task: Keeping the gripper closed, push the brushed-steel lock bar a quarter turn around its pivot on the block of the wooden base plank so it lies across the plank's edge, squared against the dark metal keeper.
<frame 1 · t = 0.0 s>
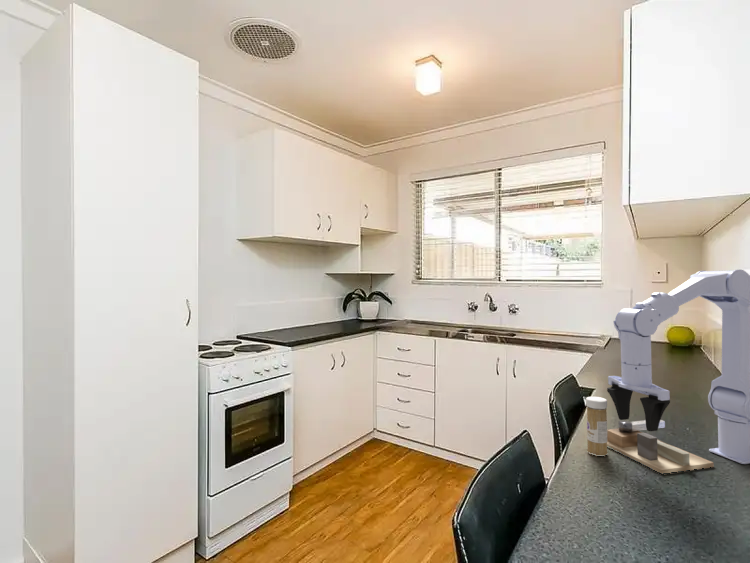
hand: (637, 424, 94), 10 cm above the countertop, tool pointing down, fingers open, 7 cm apart
sprinkles bottle: (597, 454, 103), on the countertop
lock bar: (641, 424, 108), point 5 cm above the countertop, hinge at 90.0°
wooden base plank: (652, 454, 102), on the countertop
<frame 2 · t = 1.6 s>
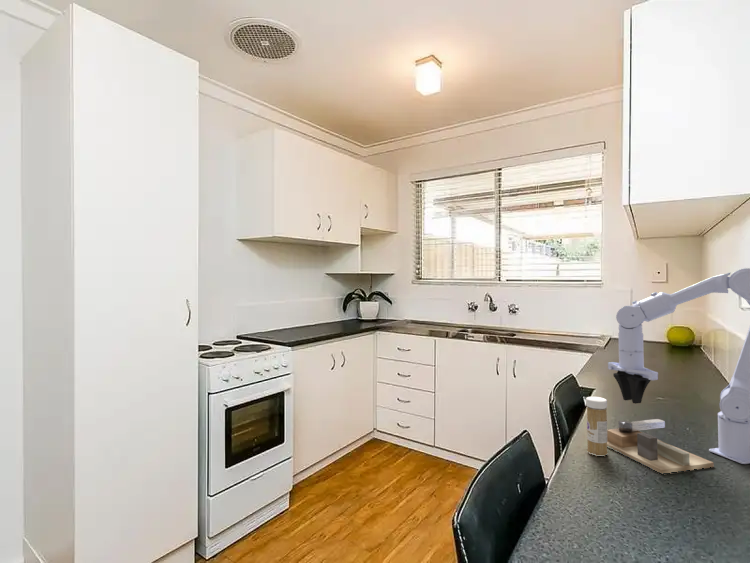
hand: (632, 401, 114), 9 cm above the countertop, tool pointing down, fingers closed
nothing on the countertop moved.
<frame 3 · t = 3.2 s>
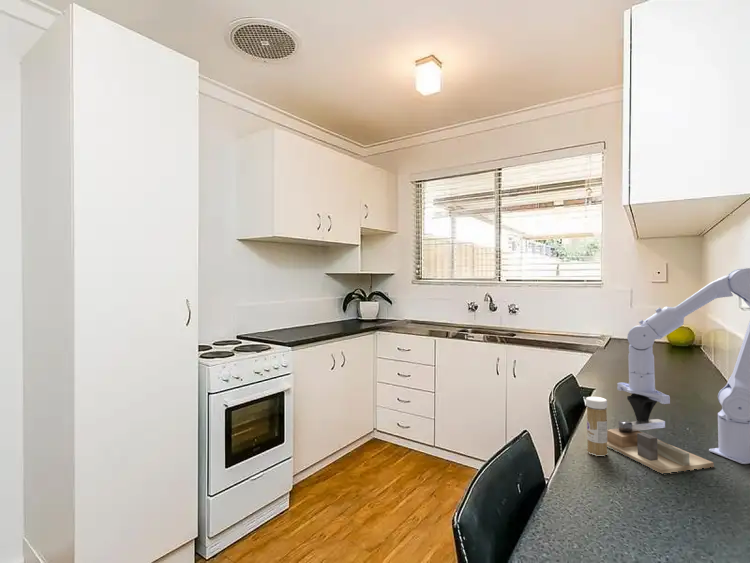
hand: (642, 424, 111), 4 cm above the countertop, tool pointing down, fingers closed
lock bar: (641, 424, 108), point 5 cm above the countertop, hinge at 89.9°, touching gripper
everything else where it was.
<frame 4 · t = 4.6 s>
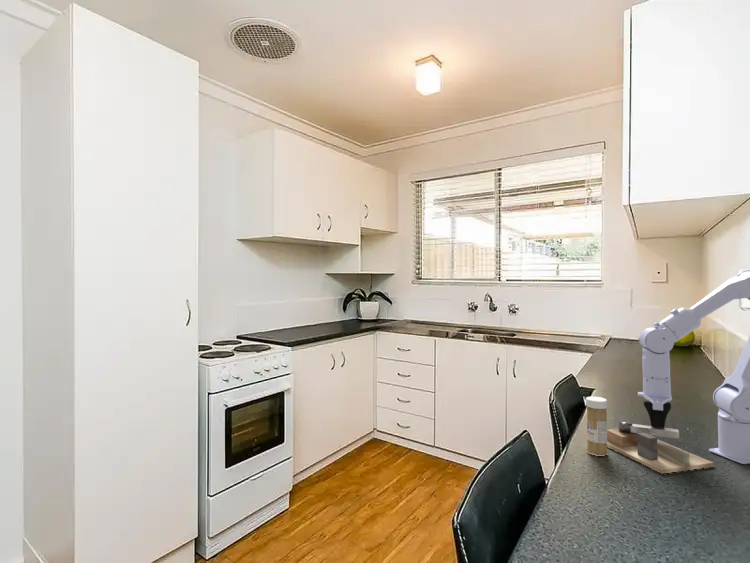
hand: (657, 431, 105), 4 cm above the countertop, tool pointing down, fingers closed, pressing on lock bar
lock bar: (647, 429, 105), point 5 cm above the countertop, hinge at 47.5°, touching gripper
everything else where it was.
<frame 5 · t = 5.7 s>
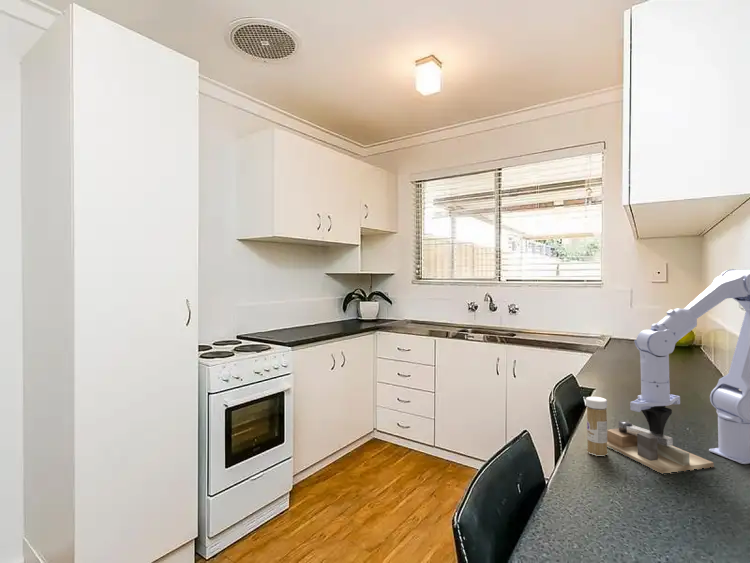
hand: (656, 437, 101), 4 cm above the countertop, tool pointing down, fingers closed, pressing on lock bar
lock bar: (643, 432, 103), point 5 cm above the countertop, hinge at 9.3°, touching gripper
everything else where it was.
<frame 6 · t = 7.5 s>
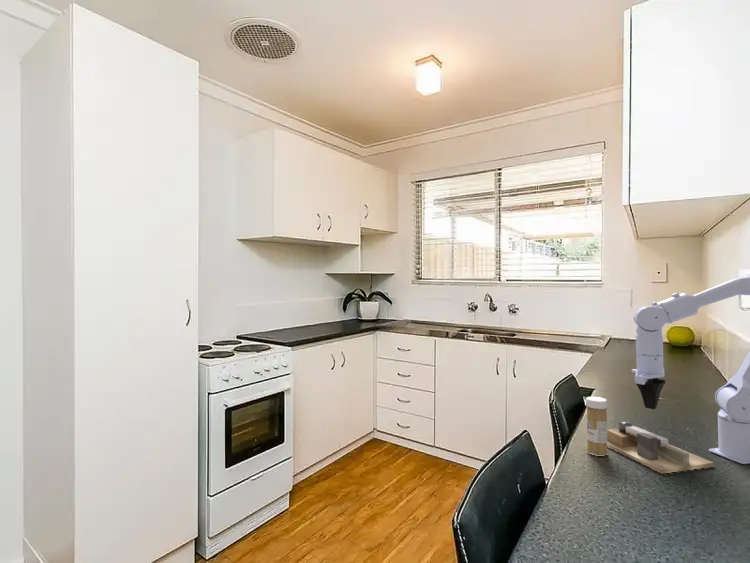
hand: (650, 408, 107), 9 cm above the countertop, tool pointing down, fingers closed
lock bar: (641, 432, 103), point 5 cm above the countertop, hinge at 1.0°
everything else where it was.
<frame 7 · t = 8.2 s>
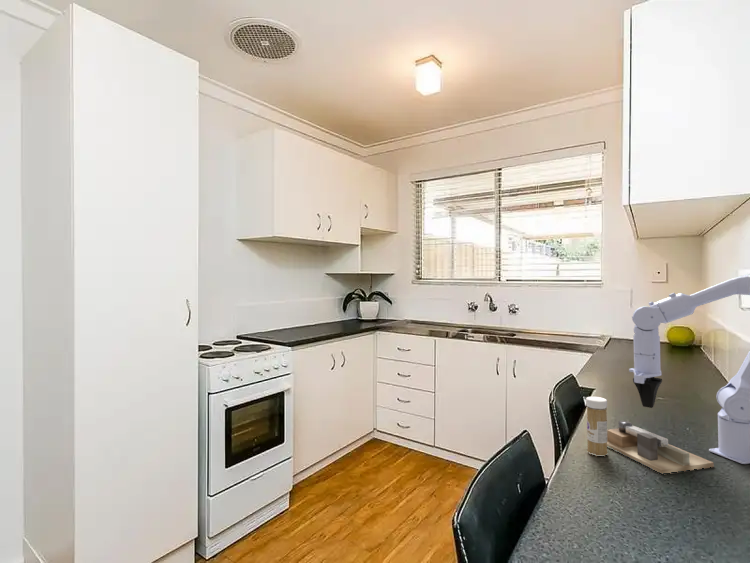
hand: (648, 406, 109), 9 cm above the countertop, tool pointing down, fingers closed
nothing on the countertop moved.
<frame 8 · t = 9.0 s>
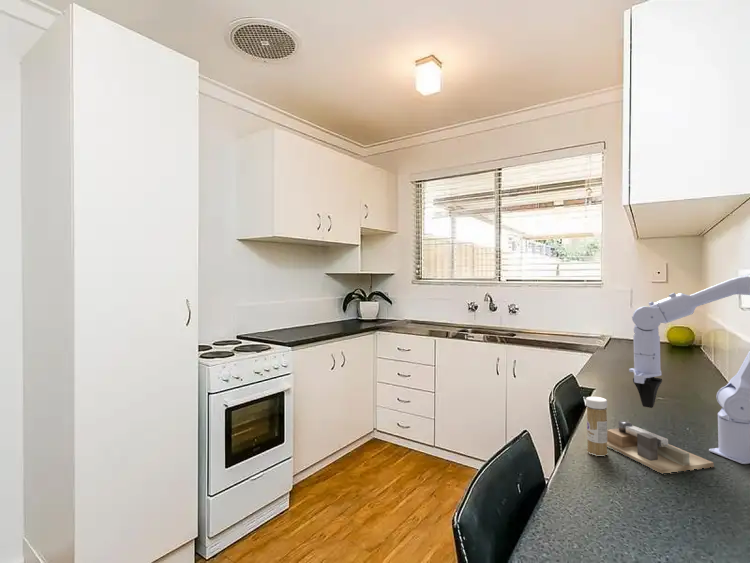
hand: (648, 406, 109), 9 cm above the countertop, tool pointing down, fingers closed
nothing on the countertop moved.
at the end: lock bar at +1° (first picture: +90°); sprinkles bottle moved 0.2 cm from its start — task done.
